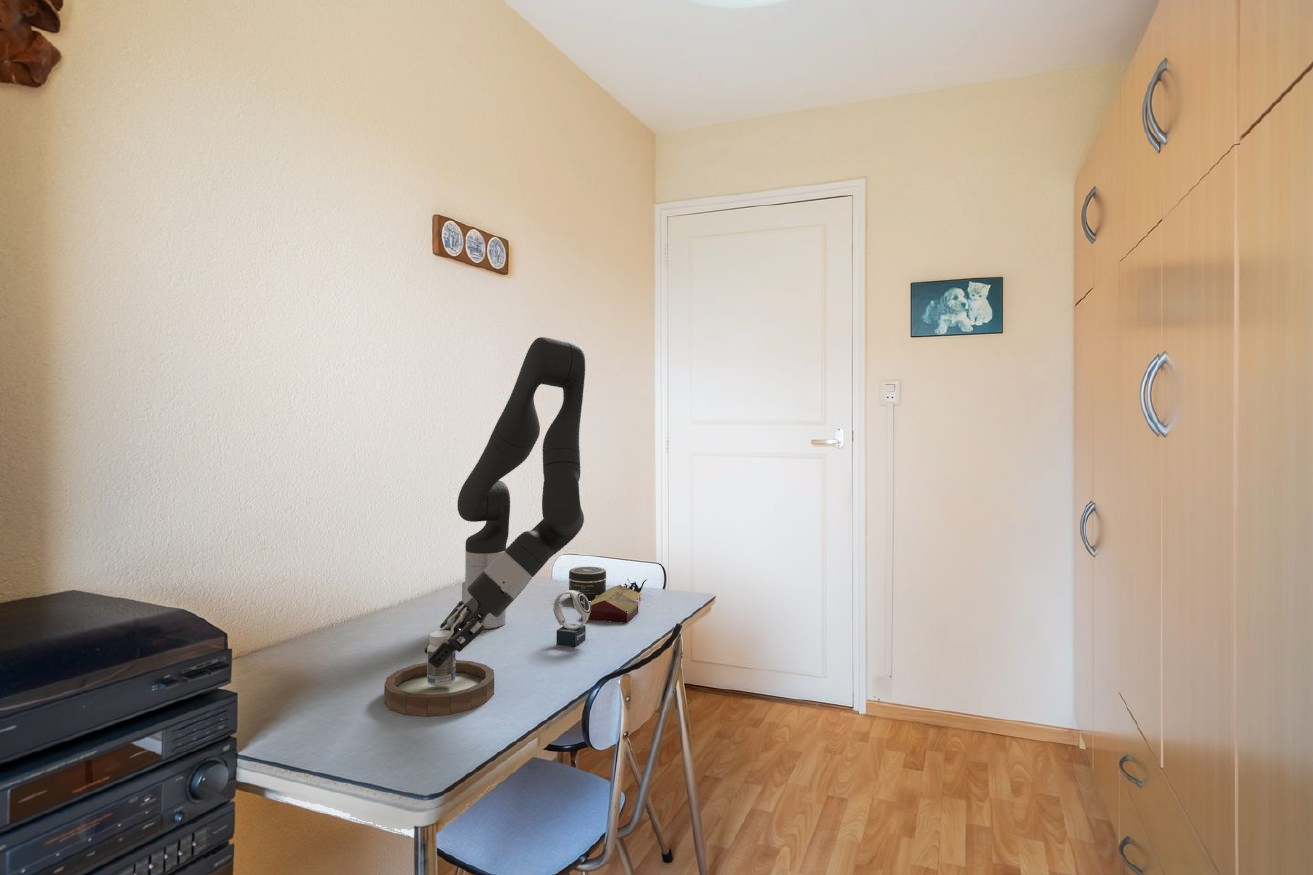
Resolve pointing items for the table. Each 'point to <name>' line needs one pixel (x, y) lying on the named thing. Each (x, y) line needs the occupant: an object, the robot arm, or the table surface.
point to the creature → (635, 587)
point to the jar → (588, 581)
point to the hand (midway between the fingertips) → (430, 658)
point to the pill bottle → (448, 668)
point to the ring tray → (438, 690)
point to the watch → (572, 632)
